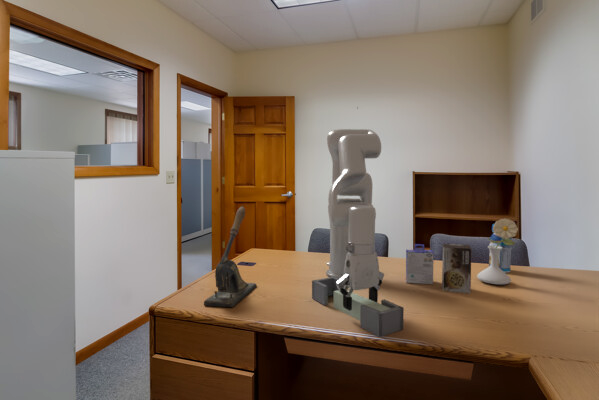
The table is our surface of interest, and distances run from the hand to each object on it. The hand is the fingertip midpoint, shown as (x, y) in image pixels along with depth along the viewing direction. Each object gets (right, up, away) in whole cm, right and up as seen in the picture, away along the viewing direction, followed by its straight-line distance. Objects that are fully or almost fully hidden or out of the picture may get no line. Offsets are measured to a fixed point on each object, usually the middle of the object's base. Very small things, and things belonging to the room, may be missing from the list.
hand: (360, 305), depth 102 cm
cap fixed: (+4, -4, -8) cm, 10 cm away
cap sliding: (-8, -2, +14) cm, 16 cm away
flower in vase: (+57, -1, +31) cm, 65 cm away
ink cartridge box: (+28, -1, +32) cm, 43 cm away
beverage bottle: (+68, 0, +47) cm, 83 cm away
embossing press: (-41, -2, +19) cm, 45 cm away
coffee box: (+38, -2, +23) cm, 45 cm away
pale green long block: (0, -4, 0) cm, 4 cm away
